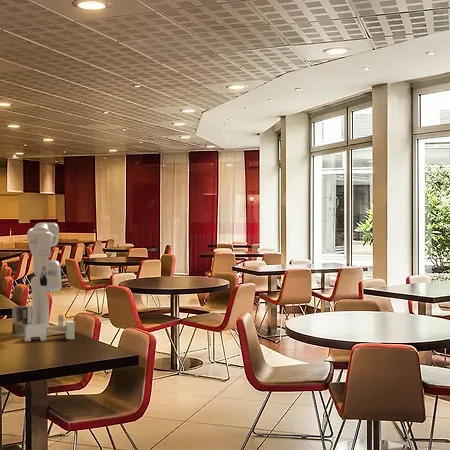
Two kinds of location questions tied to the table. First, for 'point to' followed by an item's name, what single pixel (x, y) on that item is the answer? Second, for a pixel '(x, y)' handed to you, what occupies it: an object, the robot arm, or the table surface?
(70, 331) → the socket block
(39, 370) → the table surface
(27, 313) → the coffee box
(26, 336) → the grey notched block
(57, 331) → the inner bar
